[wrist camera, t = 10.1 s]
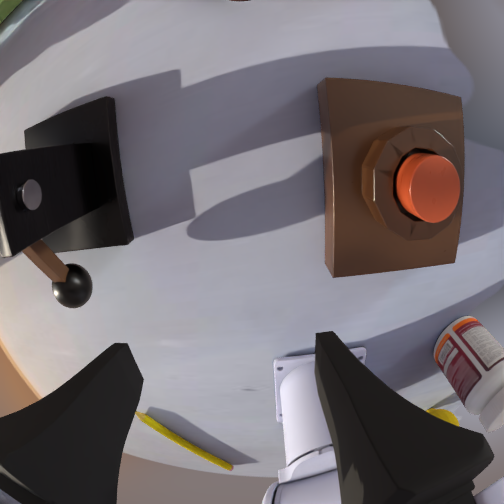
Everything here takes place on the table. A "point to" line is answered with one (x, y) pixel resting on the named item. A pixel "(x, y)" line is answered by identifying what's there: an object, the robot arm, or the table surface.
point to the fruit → (444, 415)
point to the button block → (384, 174)
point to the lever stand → (65, 184)
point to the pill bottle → (474, 369)
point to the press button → (428, 186)
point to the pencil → (182, 441)
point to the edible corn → (7, 7)
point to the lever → (61, 275)
